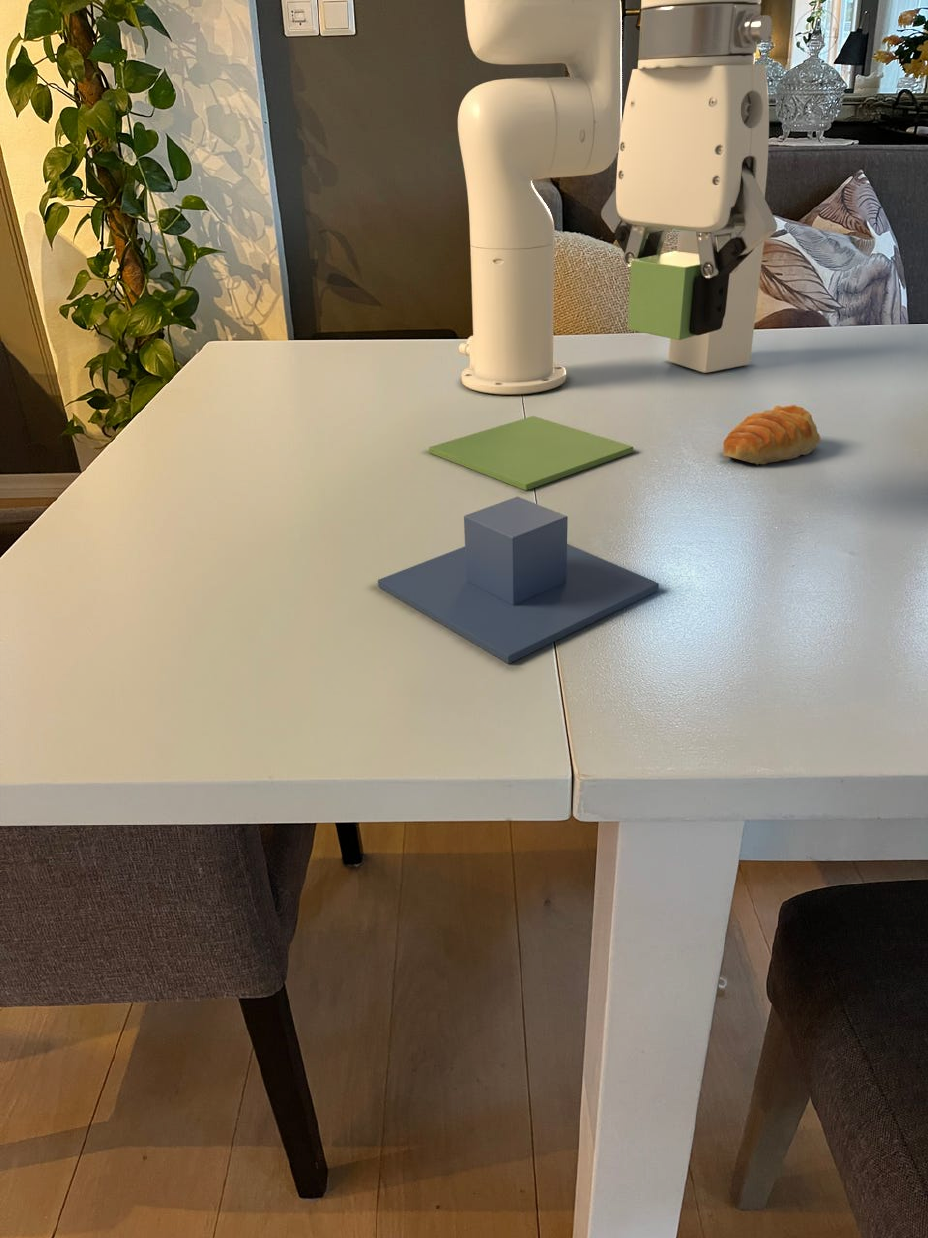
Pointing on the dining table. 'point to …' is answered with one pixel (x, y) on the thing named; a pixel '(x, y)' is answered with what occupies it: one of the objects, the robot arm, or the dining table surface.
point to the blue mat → (528, 623)
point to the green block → (663, 294)
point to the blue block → (516, 549)
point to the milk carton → (738, 322)
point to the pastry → (773, 436)
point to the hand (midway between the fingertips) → (674, 322)
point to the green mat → (530, 452)
